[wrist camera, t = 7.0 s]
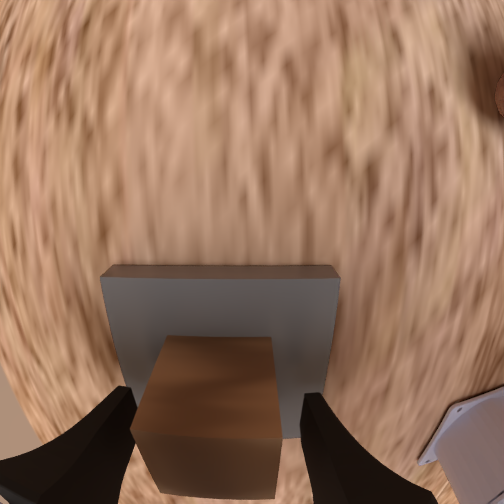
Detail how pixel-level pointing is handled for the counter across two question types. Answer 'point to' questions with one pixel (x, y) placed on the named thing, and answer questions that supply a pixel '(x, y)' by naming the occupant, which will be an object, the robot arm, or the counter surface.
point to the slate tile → (227, 319)
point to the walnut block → (212, 418)
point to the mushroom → (500, 95)
